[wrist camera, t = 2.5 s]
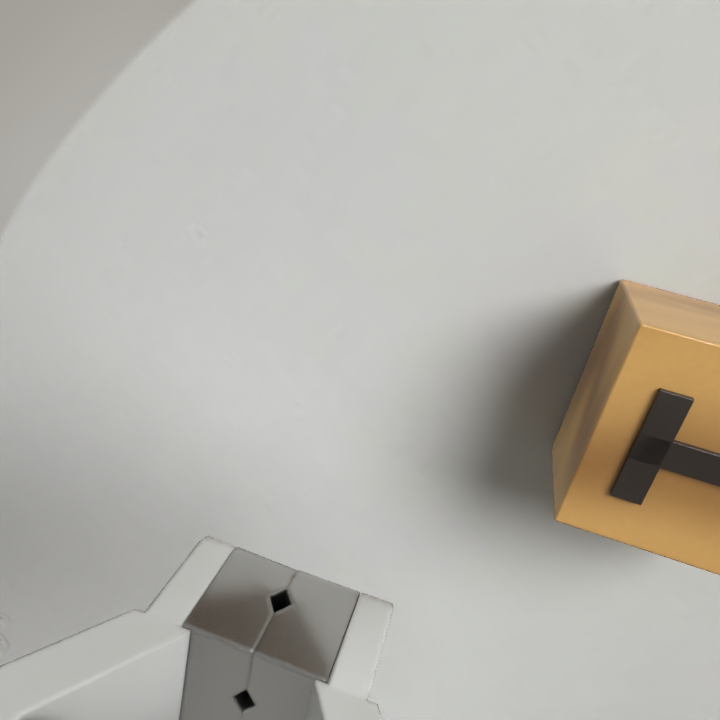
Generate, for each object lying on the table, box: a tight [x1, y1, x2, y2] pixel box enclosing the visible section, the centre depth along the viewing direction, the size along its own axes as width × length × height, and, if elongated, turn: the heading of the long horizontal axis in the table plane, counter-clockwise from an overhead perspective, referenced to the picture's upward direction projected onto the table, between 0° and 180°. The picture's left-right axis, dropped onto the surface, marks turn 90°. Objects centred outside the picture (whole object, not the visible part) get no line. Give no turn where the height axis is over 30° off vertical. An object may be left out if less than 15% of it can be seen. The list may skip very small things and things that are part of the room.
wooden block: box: [552, 280, 720, 575], centre depth 17 cm, size 6×6×4 cm
